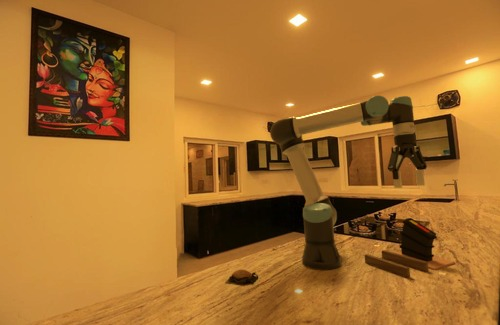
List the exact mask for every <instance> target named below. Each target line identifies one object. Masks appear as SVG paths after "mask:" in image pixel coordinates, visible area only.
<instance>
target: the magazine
mask: <svg viewBox="0 0 500 325" xmlns="http://www.w3.org/2000/svg"><path fill="white" fill-rule="evenodd" d="M402 224H403V226H402V229H401V231H399V235H401V237H400V245H399V248H400V249H401V250H400V251H401V252H402V254H404V255H407V256H410V257H414V258H417V259H420V260H424V261H432V260H433V258H432V257H435V254H433V249H434V248H435V245H434V244H433V243H434V241H435V240H436V239H438V236H437V233H436V232H435V231H433V230H431V229H430V228H428V227H426V226H425V225H423V224H421V223H420V222H418V221H416V220H414V219H413V218H412V217H407V218H405V220H402Z"/></svg>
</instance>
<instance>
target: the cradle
mask: <svg viewBox="0 0 500 325" xmlns="http://www.w3.org/2000/svg"><path fill="white" fill-rule="evenodd" d="M381 257H382V258H381ZM381 257H378V256H375V255H371V254H367V253H366V254H364V263H365V264H368V265H370V266H373V267H377V268H379V269H382V270H385V271H387V272H391V273H393V274H396V275H399V276H401V277H404V278H407V279H408V278H411V272H410V270H411V269H410V268H412V269H416V270H419V271H421V272H424V273H425V272H427V273H428V272H429V271H430V269H429V268H428V262H425V261H422V260H418V259H414V258H411V257H407V256H404V255H400V254H396V252H392V251H389V250H386V249H382V250H381Z"/></svg>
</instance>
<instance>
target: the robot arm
mask: <svg viewBox="0 0 500 325" xmlns="http://www.w3.org/2000/svg"><path fill="white" fill-rule="evenodd" d="M412 102H413V101H412V98H411V97H410V96H407V95H404V96H403V95H402V96H398V97H395V98H392V99H391V100H390V101H388V99H387V98H386V97H385V96H383V95H373V96H372V97H370V98H369V99H367V100H365V101H361V102H357V103H353V104H350V105H345V106H340V107H336V108H332V109H328V110H325V111H324V110H323V111H320V112H316V113H312V114H308V115H305V116H301V117H298V116H297V117H296V116H291V117H286V118H282V119H279V120H277V121H275V122H274V123H273V124H272V126H271V127H270V129H269V130H270V131H269V132H270V133H269V134H270V138H271V140H272V141H273V142H274V144H277V145H279V149H280V150H281V153H282V154H283V155H286V156H287V159H288V161H289V163H290V166H291V169H292V171H293V173H294V176H295V177H296V180H297V182H298V185H299V188H300V190H301V193H302V194H303V197H304V199H305V203H304V207H302V218H303V231H304V241H305V243H304V244H305V245H304V248H303V253H302V256H301V257H302V259H301V262H302V264H303V266H305V267H307V268H308V269H309V268H310V269H313V270H320V271H321V270H323V271H325V270H334V269H337V268H339V267H341V265H342V259H341V256H340V253H339V250H338V248H337V246H336V242H335V230H334V226H335V225H336V223H337V220H338V212H337V210H336V208H335V207H334V206H333V205H332V202H331V201H330V198H329V196H327V195H325V194H324V192H323V190H322V188H321V186H320V184H319V181H318V179H317V176H316V174H315V172H314V169H313V168H312V165H311V163H310V161H309V159H308V156H307V154H306V151H305V149H304V148H305V146H306V145H305V141H304V139H303V135H308V134H312V133H315V132H320V131H321V132H322V131H325V130H330V129H333V128H339V127H343V126H348V125H352V124H353V125H354V124H357V123H360V124H361V126H373V125H374V126H375V125H379V124H387V123H388V124H389V123H392V132H393V133H392V135H393V136H394V137H393V141H394V146H391V152H390V157H389V160H388V161H389V162H388V165H387V170H388V171H389V172H392V179H393V188H395V189H401V188H403V182H402V174H401V173H402V172H401V171H400V168H401V166H402V164H403V162H404V160H405V158H407V159H409V160H410V162H411V163H412V164H413V166H414V168H415V170H414V171H415V178H416V186H418V187H419V186H422V187H423V186H426V182H425V173H424V170H427V168H428V165H427V163H426V161H425V159H424V156H423V153H422V151H421V147H420V145H417V146H415V145H414V144H416V143H417V135H416V134H415V133H416V128H415V120H414V119H415V118H414V110H413V109H414V106H413V103H412Z"/></svg>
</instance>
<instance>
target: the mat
mask: <svg viewBox="0 0 500 325" xmlns="http://www.w3.org/2000/svg"><path fill="white" fill-rule="evenodd" d="M395 253H396V254H400V255H404V254H402V252H401V250H400V251H397V252H395ZM404 256H407V255H404ZM407 257H410V256H407ZM411 258H414V257H411ZM432 258H433V260H432V261H425V262H428V269H429V270H432V271H436V270H440V269H443V268H445V267H446V268H447V267H448V266H451V265H452V266H453V265H456V261H453V260H449V259H446V258H441V257H438V256H434V257H432ZM414 259H417V258H414ZM418 260H420V259H418ZM422 261H424V260H422Z"/></svg>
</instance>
